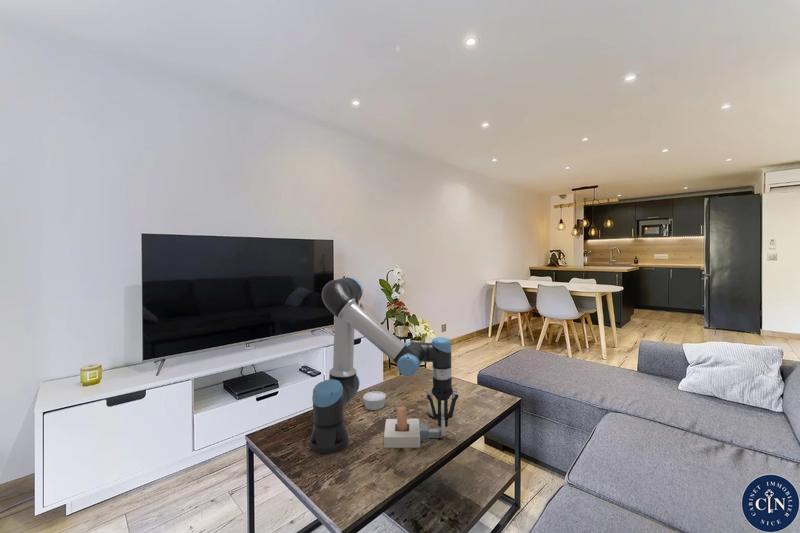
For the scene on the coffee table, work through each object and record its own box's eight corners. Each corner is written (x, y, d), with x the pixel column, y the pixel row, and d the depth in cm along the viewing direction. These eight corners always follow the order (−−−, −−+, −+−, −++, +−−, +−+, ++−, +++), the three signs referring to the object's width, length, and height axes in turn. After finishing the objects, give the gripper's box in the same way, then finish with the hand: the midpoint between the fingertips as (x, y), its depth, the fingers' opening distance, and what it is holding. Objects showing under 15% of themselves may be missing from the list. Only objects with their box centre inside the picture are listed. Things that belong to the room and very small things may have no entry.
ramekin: (386, 400, 172) (386, 390, 171) (385, 411, 161) (385, 400, 160) (364, 401, 172) (364, 391, 172) (361, 411, 161) (361, 401, 160)
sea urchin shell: (449, 416, 151) (436, 402, 151) (437, 427, 152) (424, 414, 153) (450, 406, 160) (437, 394, 160) (438, 417, 161) (426, 405, 162)
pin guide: (419, 441, 135) (419, 430, 135) (419, 433, 140) (419, 424, 140) (429, 440, 135) (428, 430, 135) (428, 433, 140) (428, 424, 140)
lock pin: (416, 438, 136) (416, 431, 136) (416, 434, 139) (416, 427, 139) (441, 438, 136) (441, 431, 136) (440, 434, 139) (440, 427, 139)
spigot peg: (397, 440, 136) (396, 411, 135) (397, 435, 140) (396, 406, 139) (407, 440, 136) (406, 411, 135) (407, 434, 140) (406, 406, 139)
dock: (383, 447, 131) (383, 437, 131) (386, 428, 145) (386, 419, 145) (420, 447, 131) (420, 436, 130) (419, 428, 145) (419, 418, 144)
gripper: (426, 380, 133) (427, 439, 134) (459, 380, 132) (460, 439, 134) (425, 373, 140) (426, 429, 141) (457, 373, 140) (457, 429, 141)
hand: (443, 434), depth 137 cm, fingers closed
